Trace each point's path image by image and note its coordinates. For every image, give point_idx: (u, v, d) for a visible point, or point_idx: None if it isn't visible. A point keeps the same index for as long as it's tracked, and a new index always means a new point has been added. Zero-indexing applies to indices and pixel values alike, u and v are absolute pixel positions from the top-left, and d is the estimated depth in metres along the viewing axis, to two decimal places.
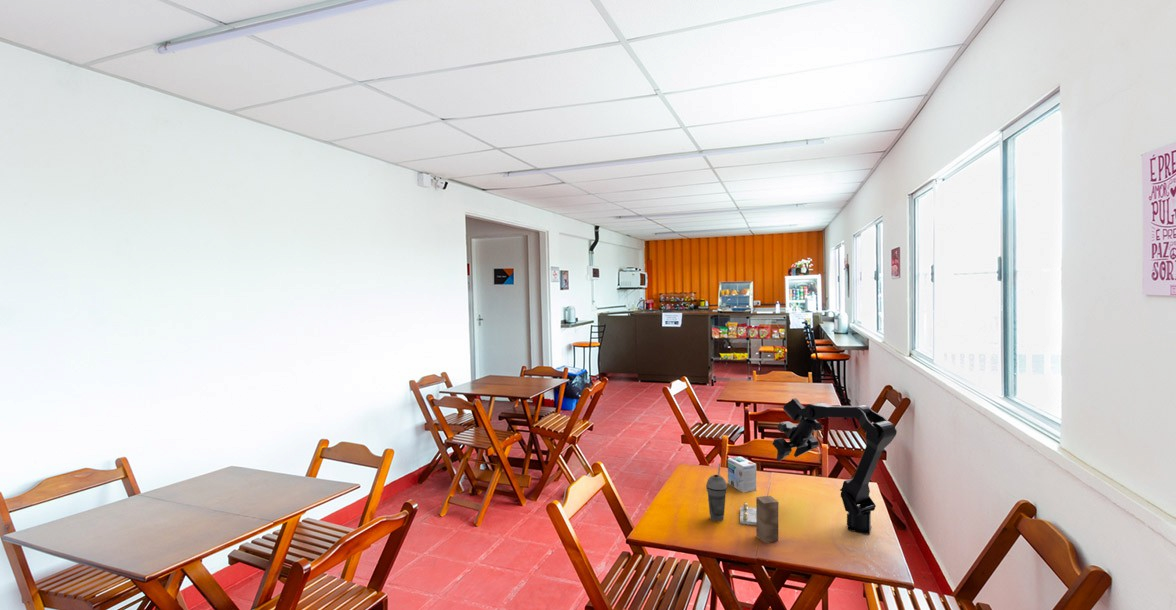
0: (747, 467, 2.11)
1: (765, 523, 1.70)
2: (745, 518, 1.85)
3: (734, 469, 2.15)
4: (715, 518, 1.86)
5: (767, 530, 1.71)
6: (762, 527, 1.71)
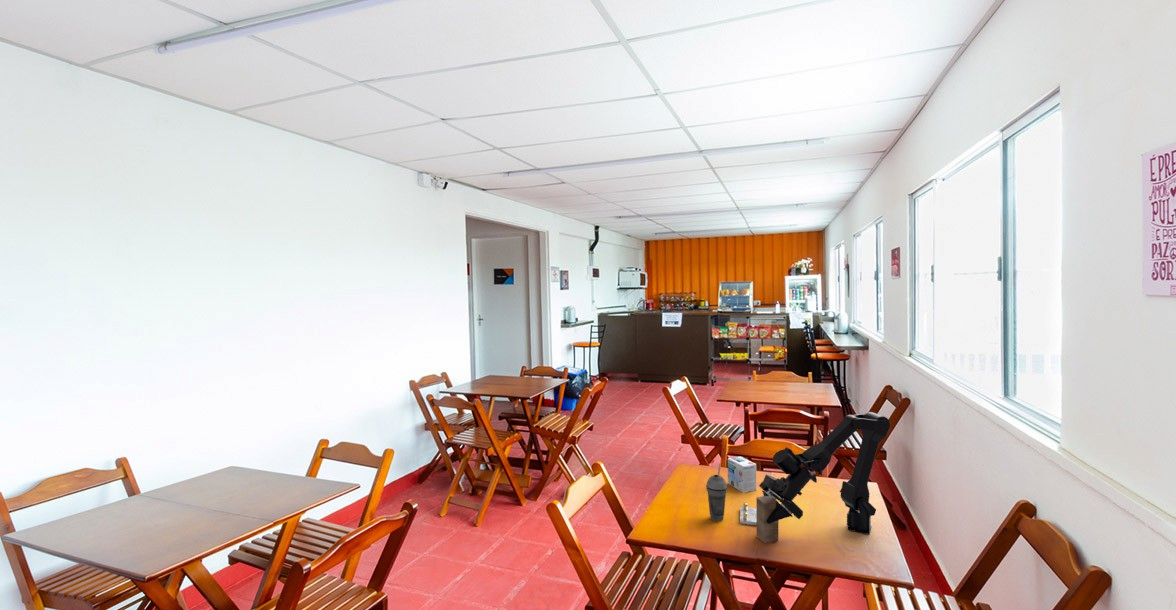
0: (747, 467, 2.11)
1: (765, 523, 1.70)
2: (745, 518, 1.85)
3: (734, 469, 2.15)
4: (715, 518, 1.86)
5: (767, 530, 1.71)
6: (762, 527, 1.71)
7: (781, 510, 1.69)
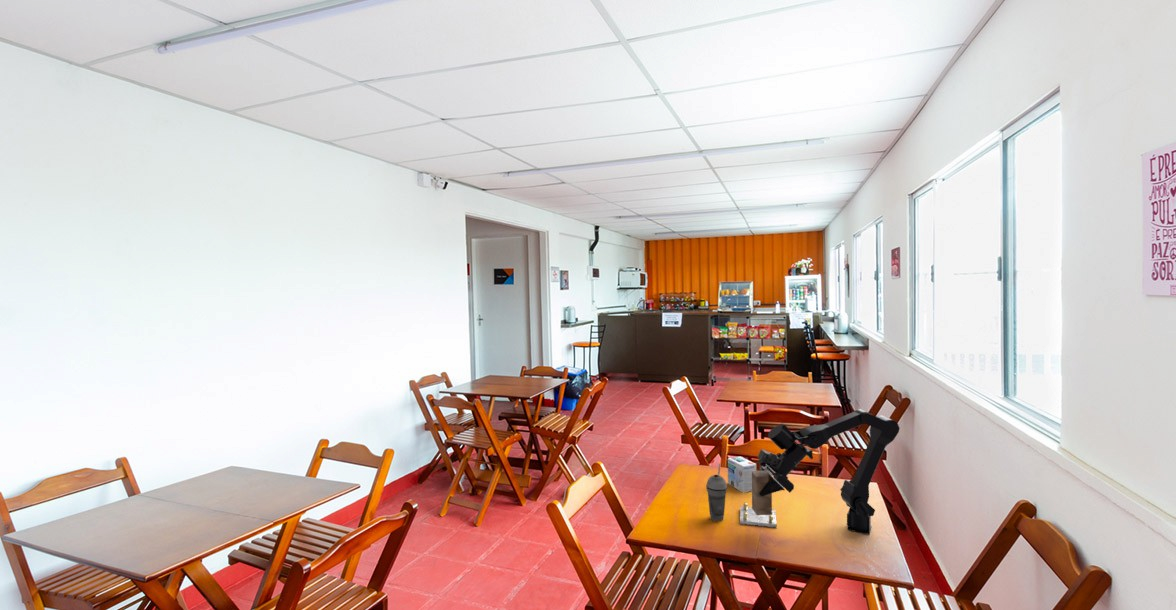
0: (747, 467, 2.11)
1: (757, 495, 1.75)
2: (745, 518, 1.85)
3: (734, 469, 2.15)
4: (715, 518, 1.86)
5: (760, 503, 1.75)
6: (755, 499, 1.76)
7: (774, 483, 1.74)
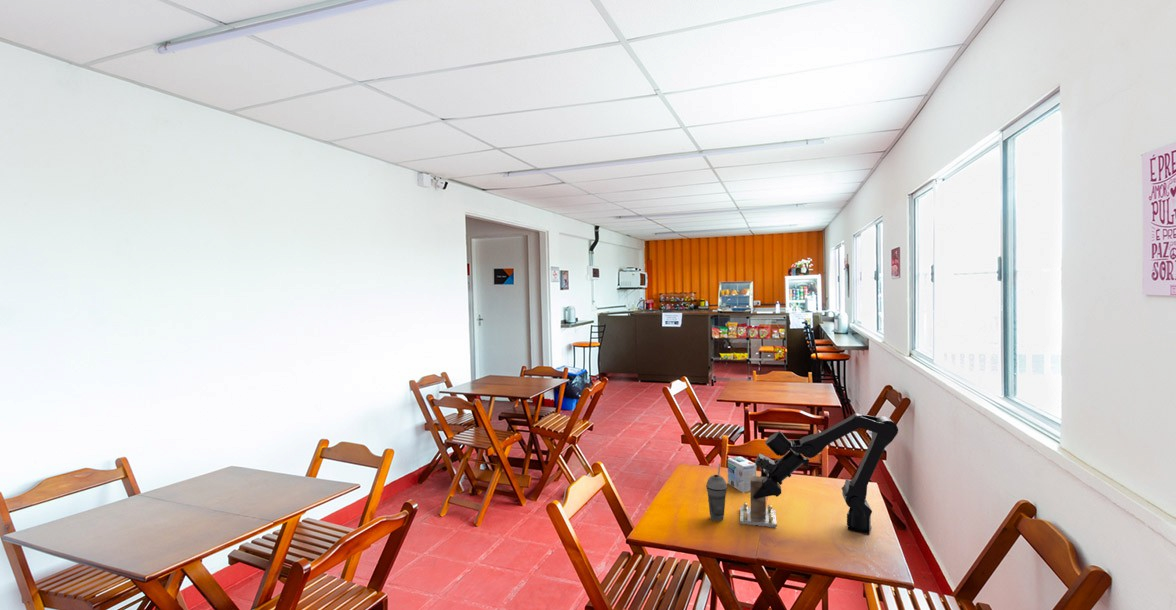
0: (747, 467, 2.11)
1: (751, 499, 1.86)
2: (745, 518, 1.85)
3: (734, 469, 2.15)
4: (715, 518, 1.86)
5: (754, 506, 1.86)
6: None
7: (766, 488, 1.82)
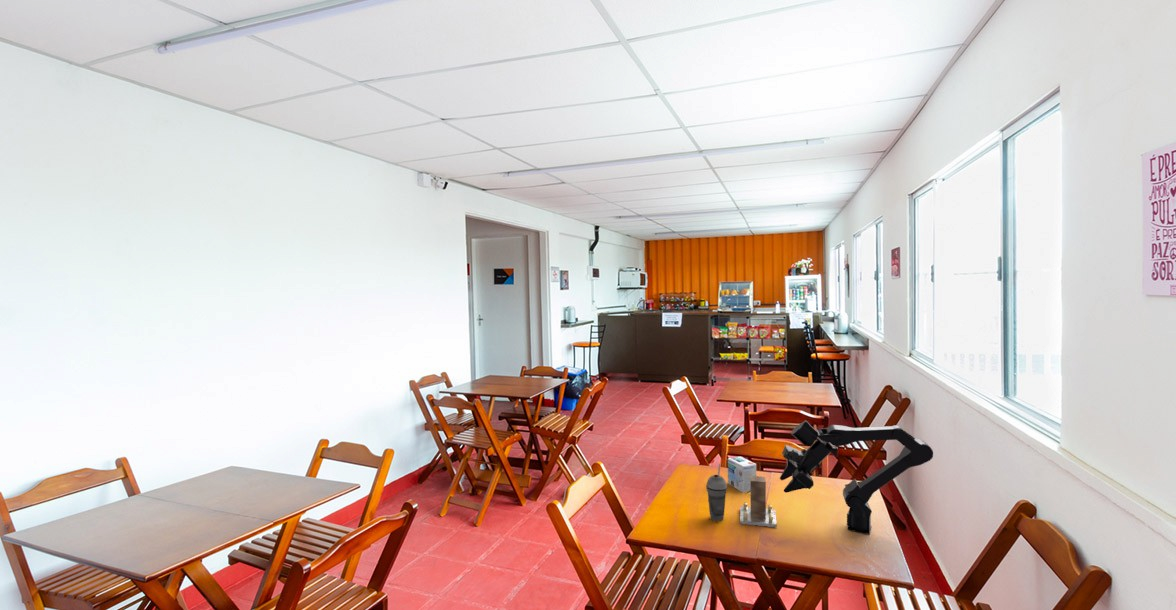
0: (747, 467, 2.11)
1: (751, 499, 1.86)
2: (745, 518, 1.85)
3: (734, 469, 2.15)
4: (715, 518, 1.86)
5: (754, 506, 1.86)
6: None
7: (797, 481, 1.79)
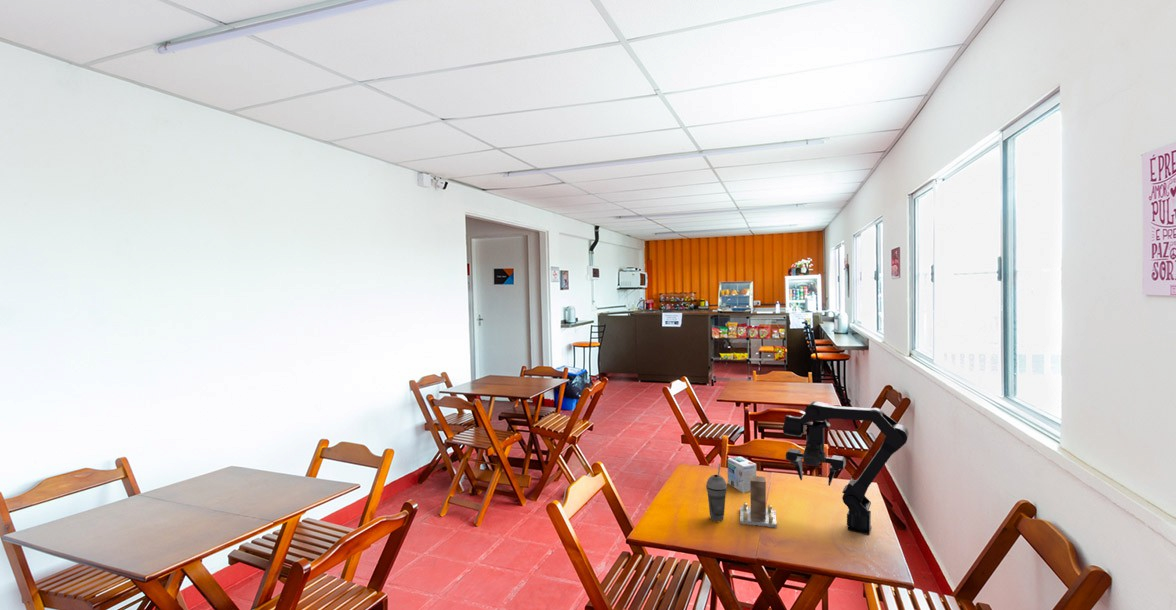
0: (747, 467, 2.11)
1: (751, 499, 1.86)
2: (745, 518, 1.85)
3: (734, 469, 2.15)
4: (715, 518, 1.86)
5: (754, 506, 1.86)
6: None
7: None
